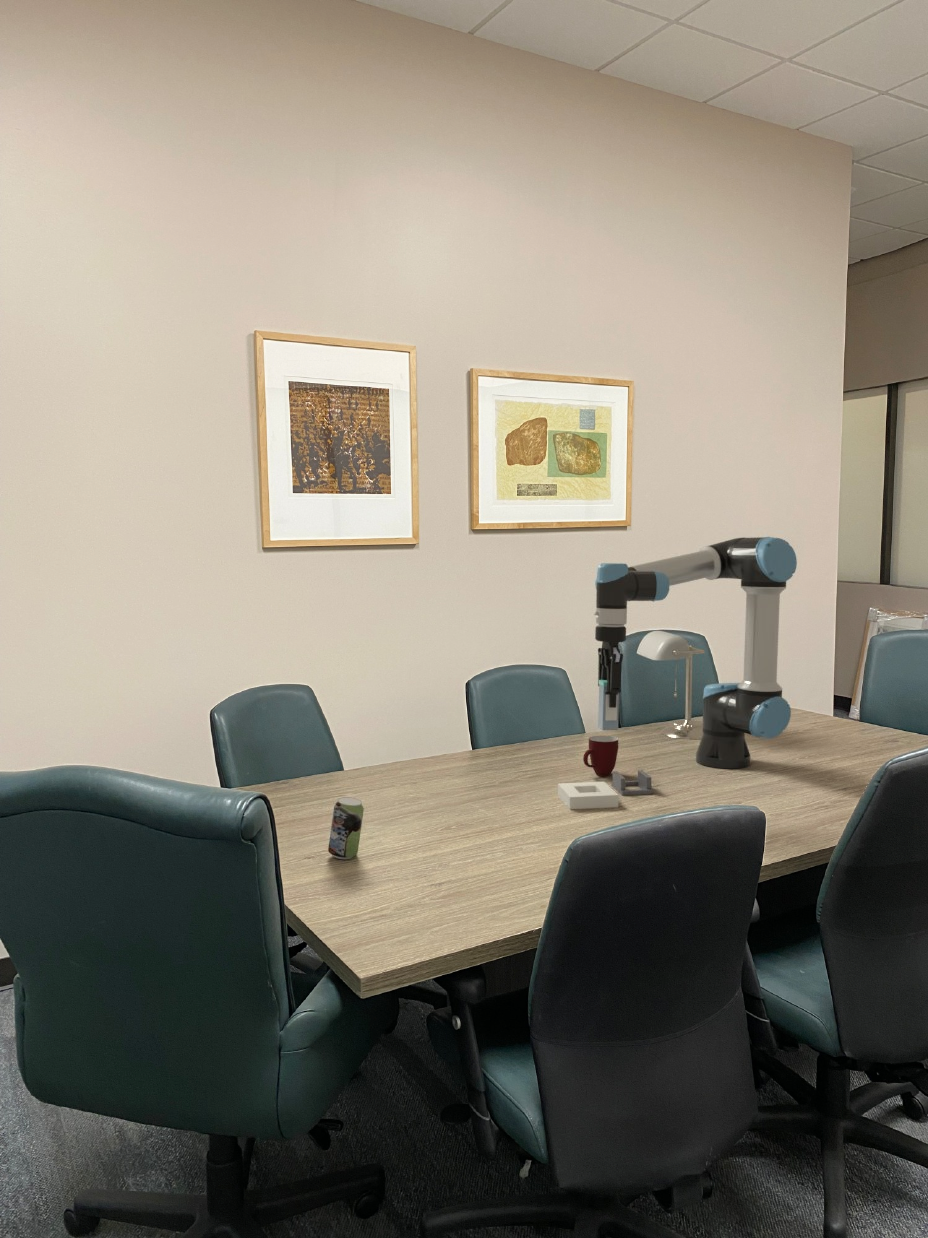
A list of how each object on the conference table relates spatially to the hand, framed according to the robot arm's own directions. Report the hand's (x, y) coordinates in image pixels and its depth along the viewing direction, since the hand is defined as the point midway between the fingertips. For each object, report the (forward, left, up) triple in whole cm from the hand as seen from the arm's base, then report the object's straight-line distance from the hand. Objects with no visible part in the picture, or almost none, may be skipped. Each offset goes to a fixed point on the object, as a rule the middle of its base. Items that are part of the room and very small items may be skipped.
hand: (608, 718), depth 219 cm
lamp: (-44, -66, -20) cm, 82 cm away
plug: (0, 0, -3) cm, 3 cm away
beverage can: (+65, +34, -20) cm, 76 cm away
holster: (-8, -4, -20) cm, 22 cm away
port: (+6, +4, -20) cm, 21 cm away
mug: (-4, -19, -20) cm, 28 cm away
